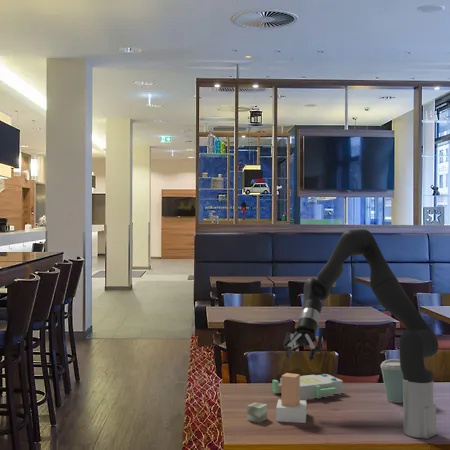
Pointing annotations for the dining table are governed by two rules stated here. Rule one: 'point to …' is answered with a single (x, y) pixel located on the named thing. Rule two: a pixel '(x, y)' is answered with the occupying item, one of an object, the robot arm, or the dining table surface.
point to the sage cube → (257, 412)
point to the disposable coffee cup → (393, 380)
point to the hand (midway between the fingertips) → (299, 358)
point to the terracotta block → (290, 389)
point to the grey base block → (291, 412)
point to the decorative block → (314, 386)
